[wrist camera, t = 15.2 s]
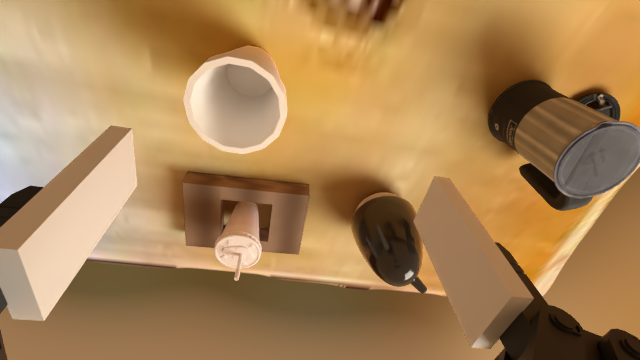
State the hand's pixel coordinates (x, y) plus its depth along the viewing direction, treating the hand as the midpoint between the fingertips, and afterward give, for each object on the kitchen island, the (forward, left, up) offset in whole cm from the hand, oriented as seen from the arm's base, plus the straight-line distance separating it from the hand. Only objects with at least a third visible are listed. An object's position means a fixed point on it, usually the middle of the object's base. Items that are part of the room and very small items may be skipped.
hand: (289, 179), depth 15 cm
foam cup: (0, -6, -31) cm, 32 cm away
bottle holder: (+16, -21, -31) cm, 40 cm away
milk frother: (+29, +23, -31) cm, 48 cm away
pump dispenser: (+29, -4, -31) cm, 42 cm away
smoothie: (+15, -22, -31) cm, 41 cm away
